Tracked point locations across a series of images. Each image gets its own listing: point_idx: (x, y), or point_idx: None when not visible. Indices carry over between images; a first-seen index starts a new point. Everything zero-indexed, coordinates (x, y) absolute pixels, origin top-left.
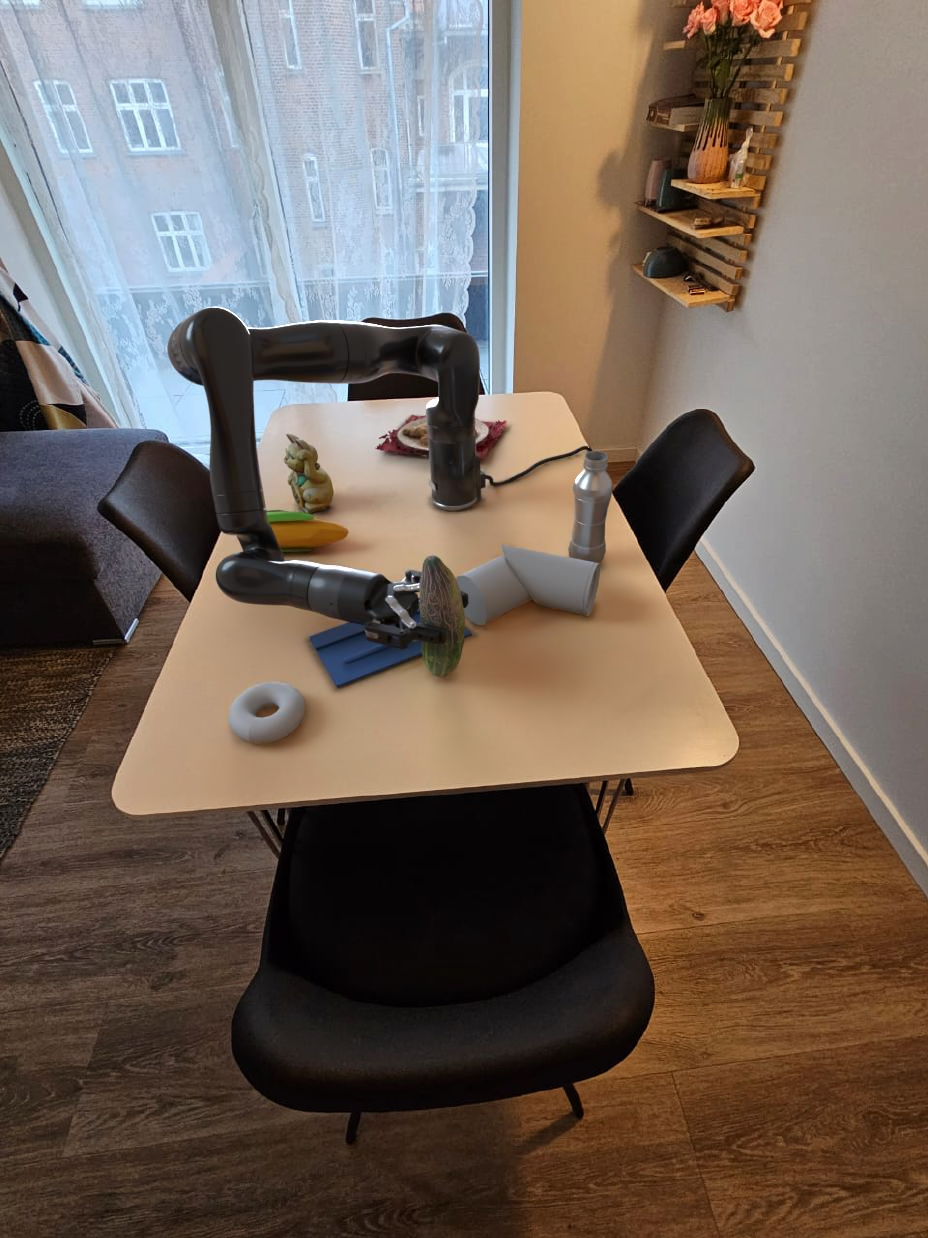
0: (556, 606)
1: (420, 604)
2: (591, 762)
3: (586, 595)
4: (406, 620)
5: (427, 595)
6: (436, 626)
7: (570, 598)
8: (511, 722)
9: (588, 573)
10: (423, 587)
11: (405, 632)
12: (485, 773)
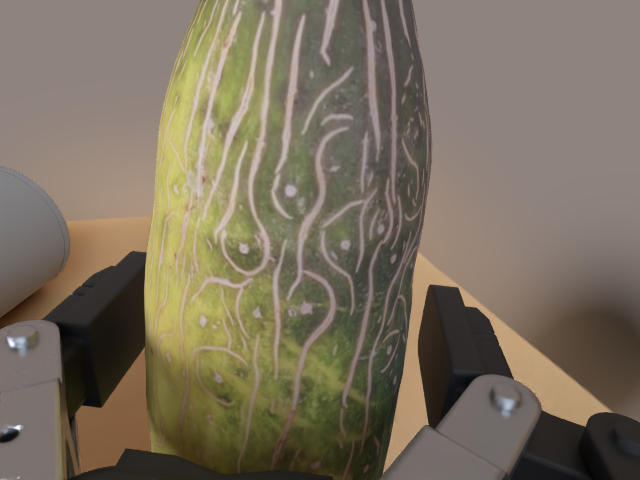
0: (16, 296)
1: (370, 305)
2: (442, 285)
3: (58, 213)
4: (486, 444)
5: (429, 150)
6: (438, 303)
7: (39, 243)
8: (418, 380)
9: (8, 175)
10: (415, 107)
11: (608, 417)
12: (586, 407)
